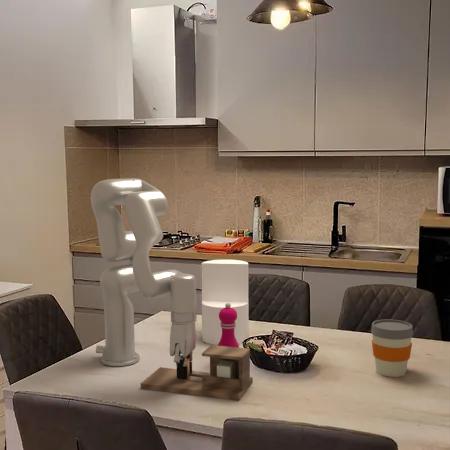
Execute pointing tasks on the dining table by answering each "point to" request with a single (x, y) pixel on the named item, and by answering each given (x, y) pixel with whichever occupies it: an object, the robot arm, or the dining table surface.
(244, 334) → the cylinder
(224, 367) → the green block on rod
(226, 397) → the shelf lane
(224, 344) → the pepper mill
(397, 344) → the reusable coffee cup
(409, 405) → the dining table surface
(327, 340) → the dining table surface
